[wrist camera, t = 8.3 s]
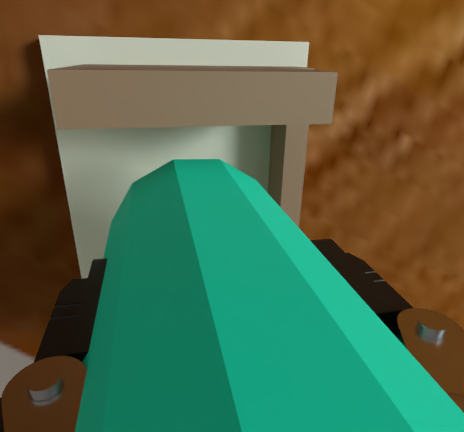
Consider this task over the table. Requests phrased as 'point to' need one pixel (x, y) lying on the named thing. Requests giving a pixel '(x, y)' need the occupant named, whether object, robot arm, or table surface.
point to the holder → (177, 117)
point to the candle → (239, 323)
